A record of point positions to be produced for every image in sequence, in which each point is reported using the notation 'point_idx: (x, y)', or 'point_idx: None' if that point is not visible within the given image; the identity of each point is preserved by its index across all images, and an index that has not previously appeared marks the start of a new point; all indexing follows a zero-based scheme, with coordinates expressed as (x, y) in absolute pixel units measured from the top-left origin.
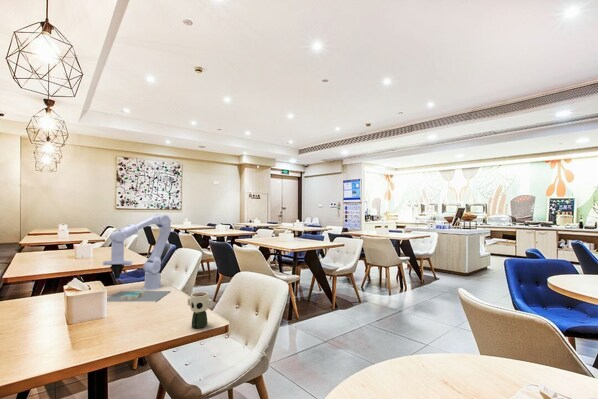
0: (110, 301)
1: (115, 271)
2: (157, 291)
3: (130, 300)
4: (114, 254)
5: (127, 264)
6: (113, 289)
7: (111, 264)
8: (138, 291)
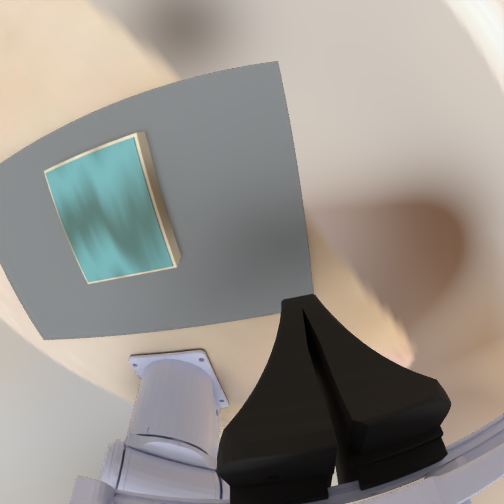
0: (193, 77)
1: (325, 367)
2: (85, 331)
3: (73, 143)
4: None
5: (132, 501)
6: (387, 329)
7: (452, 454)
8: (118, 276)
